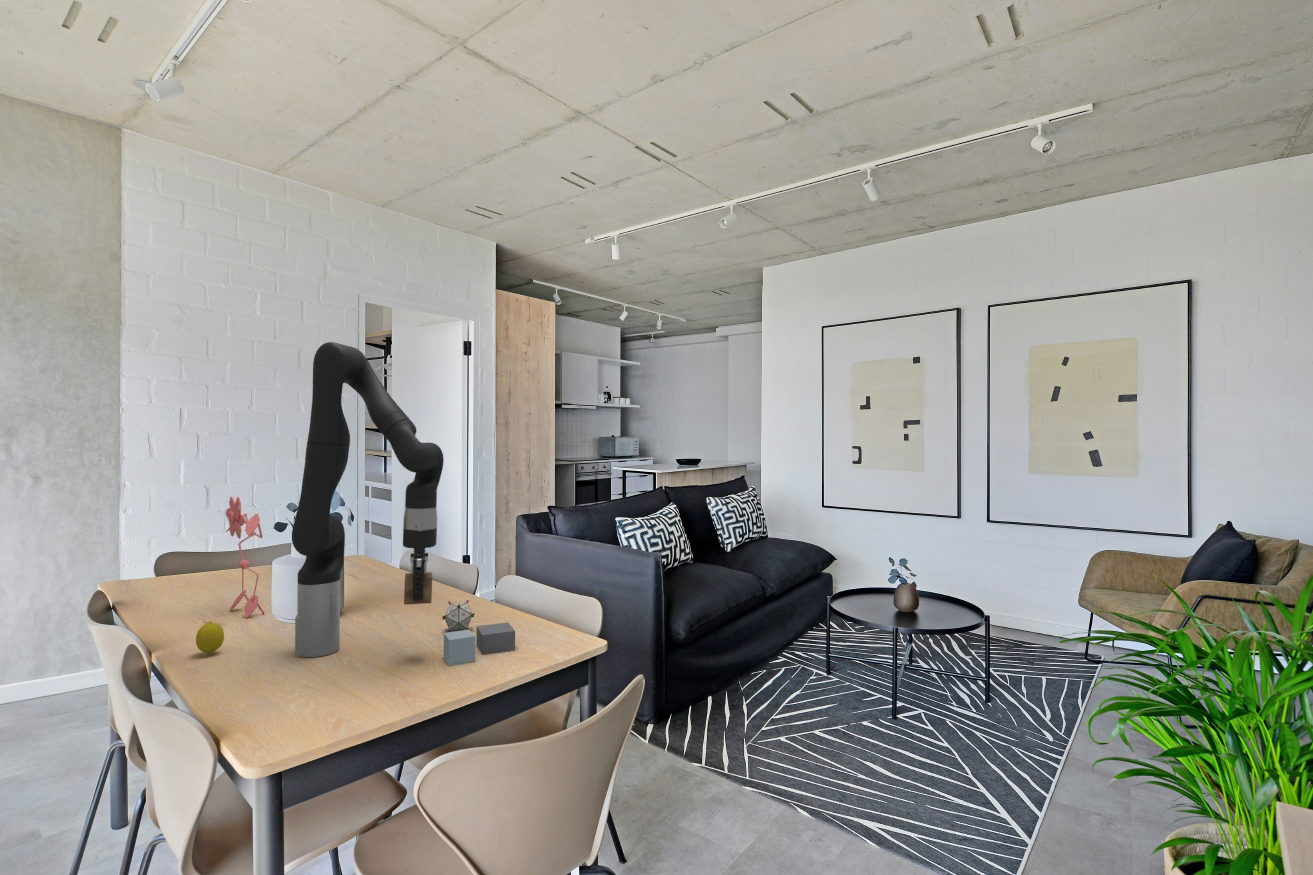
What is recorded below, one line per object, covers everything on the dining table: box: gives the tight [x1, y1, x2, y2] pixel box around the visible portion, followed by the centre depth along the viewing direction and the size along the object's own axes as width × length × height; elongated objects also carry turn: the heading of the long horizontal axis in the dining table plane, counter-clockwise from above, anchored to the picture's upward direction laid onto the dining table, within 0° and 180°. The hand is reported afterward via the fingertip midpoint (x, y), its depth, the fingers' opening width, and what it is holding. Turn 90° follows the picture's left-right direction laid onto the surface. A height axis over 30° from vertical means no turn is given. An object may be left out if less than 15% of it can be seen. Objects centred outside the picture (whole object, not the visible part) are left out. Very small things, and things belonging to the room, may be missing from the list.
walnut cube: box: [403, 571, 433, 606], centre depth 150 cm, size 6×6×6 cm
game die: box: [442, 599, 476, 633], centre depth 171 cm, size 9×8×10 cm
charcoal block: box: [475, 622, 516, 656], centre depth 158 cm, size 8×8×5 cm
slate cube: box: [442, 629, 476, 667], centre depth 149 cm, size 6×6×6 cm
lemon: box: [195, 620, 225, 656], centre depth 151 cm, size 6×6×8 cm
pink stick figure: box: [225, 496, 265, 619], centre depth 183 cm, size 15×26×35 cm, turn 49°
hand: (418, 596), depth 150 cm, fingers closed on walnut cube, 6 cm apart
